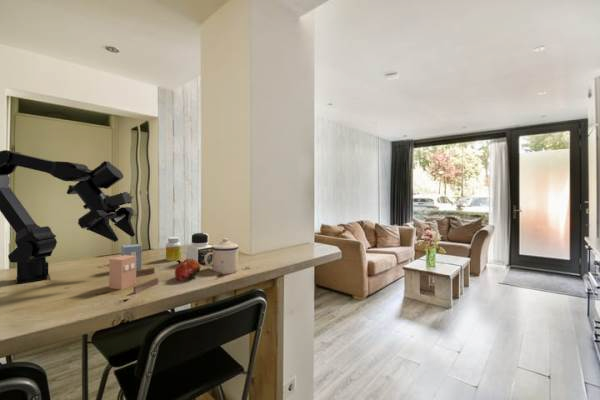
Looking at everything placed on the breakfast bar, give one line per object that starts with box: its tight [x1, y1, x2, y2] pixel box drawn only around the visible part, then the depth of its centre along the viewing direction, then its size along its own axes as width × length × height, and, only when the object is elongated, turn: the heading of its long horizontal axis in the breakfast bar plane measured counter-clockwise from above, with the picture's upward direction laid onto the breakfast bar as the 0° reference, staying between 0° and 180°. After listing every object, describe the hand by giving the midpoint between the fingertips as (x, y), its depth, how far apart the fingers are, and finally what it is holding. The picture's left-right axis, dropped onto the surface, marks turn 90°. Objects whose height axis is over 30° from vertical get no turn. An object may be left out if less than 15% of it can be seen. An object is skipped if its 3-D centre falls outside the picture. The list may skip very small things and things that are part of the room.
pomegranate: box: [174, 259, 202, 282], centre depth 86 cm, size 7×7×10 cm
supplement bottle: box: [165, 236, 182, 262], centre depth 109 cm, size 5×5×10 cm
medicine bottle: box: [185, 232, 213, 267], centre depth 106 cm, size 7×7×12 cm
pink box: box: [108, 255, 137, 290], centre depth 77 cm, size 4×5×8 cm
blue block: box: [120, 243, 142, 270], centre depth 94 cm, size 4×5×8 cm
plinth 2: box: [132, 277, 159, 294], centre depth 77 cm, size 11×8×3 cm
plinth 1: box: [136, 267, 155, 278], centre depth 91 cm, size 12×8×3 cm, turn 46°
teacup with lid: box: [204, 237, 239, 275], centre depth 97 cm, size 12×9×12 cm
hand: (125, 238), depth 86 cm, fingers open, 9 cm apart
